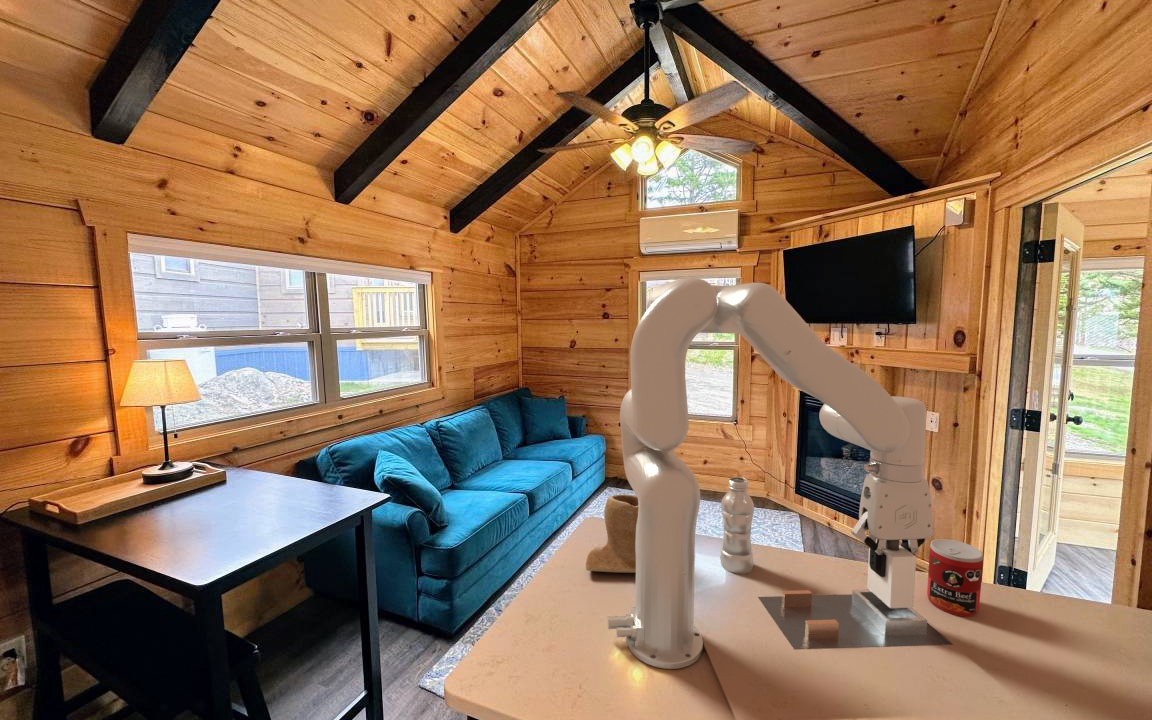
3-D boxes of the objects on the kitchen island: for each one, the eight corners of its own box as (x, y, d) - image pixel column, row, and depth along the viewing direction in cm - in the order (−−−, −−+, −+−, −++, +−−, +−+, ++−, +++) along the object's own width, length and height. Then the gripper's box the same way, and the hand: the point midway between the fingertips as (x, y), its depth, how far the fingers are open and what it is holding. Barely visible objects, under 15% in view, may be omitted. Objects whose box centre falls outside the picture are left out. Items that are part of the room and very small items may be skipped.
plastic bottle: (757, 580, 97) (760, 485, 95) (724, 580, 97) (727, 485, 95) (747, 563, 104) (749, 474, 102) (716, 563, 104) (717, 474, 102)
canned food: (923, 605, 88) (927, 549, 87) (929, 587, 94) (933, 534, 93) (977, 623, 83) (982, 563, 82) (980, 603, 89) (984, 547, 88)
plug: (890, 608, 80) (893, 545, 79) (867, 587, 86) (869, 529, 85) (913, 607, 80) (916, 544, 79) (888, 586, 86) (891, 528, 85)
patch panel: (793, 656, 76) (794, 634, 75) (757, 602, 89) (758, 584, 89) (952, 651, 76) (954, 629, 76) (892, 599, 90) (893, 580, 90)
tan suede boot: (653, 551, 109) (653, 488, 108) (659, 580, 97) (659, 510, 96) (587, 550, 110) (587, 487, 109) (585, 578, 98) (585, 508, 97)
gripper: (861, 478, 76) (856, 586, 78) (962, 476, 77) (955, 583, 79) (834, 464, 84) (831, 562, 86) (926, 461, 84) (921, 559, 86)
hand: (890, 571), depth 82 cm, fingers closed on plug, 4 cm apart
